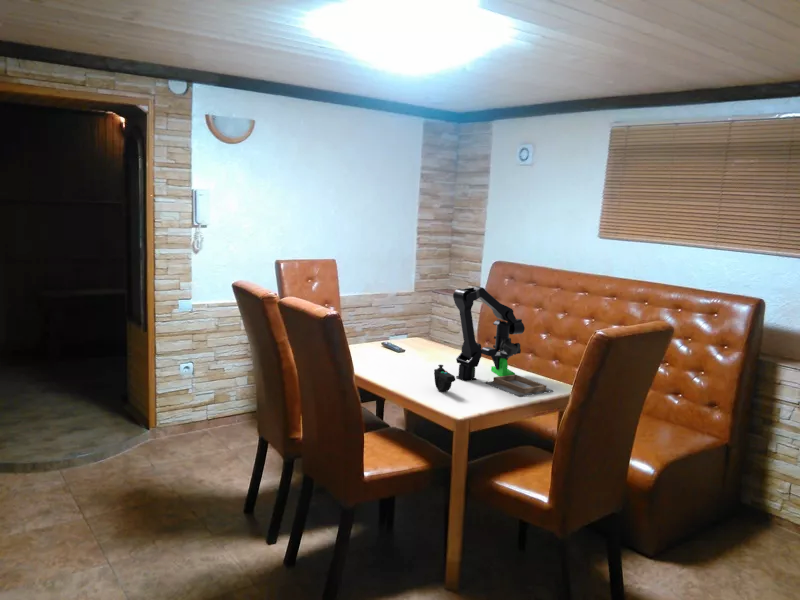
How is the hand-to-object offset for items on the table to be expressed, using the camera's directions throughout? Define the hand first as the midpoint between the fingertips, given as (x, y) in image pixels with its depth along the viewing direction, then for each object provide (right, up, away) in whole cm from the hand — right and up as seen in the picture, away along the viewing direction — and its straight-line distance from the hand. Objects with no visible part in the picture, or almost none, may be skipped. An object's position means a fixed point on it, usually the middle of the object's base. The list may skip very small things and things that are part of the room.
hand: (499, 369), depth 276 cm
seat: (+5, -5, -19) cm, 20 cm away
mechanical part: (+2, -3, +2) cm, 3 cm away
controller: (-27, -6, -31) cm, 42 cm away
